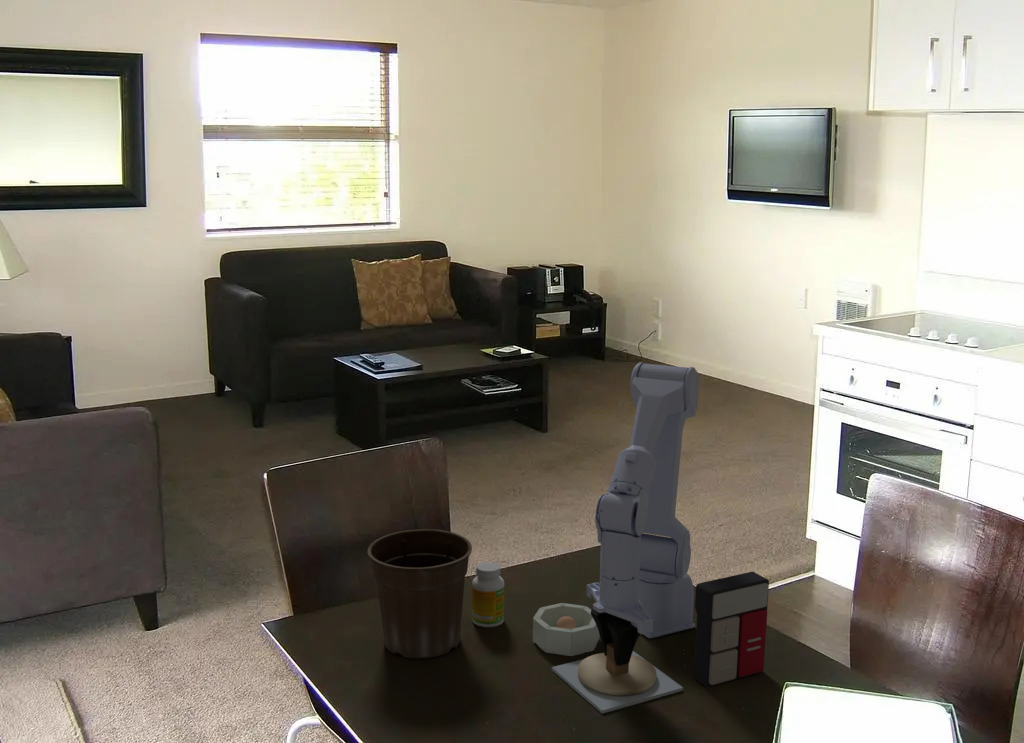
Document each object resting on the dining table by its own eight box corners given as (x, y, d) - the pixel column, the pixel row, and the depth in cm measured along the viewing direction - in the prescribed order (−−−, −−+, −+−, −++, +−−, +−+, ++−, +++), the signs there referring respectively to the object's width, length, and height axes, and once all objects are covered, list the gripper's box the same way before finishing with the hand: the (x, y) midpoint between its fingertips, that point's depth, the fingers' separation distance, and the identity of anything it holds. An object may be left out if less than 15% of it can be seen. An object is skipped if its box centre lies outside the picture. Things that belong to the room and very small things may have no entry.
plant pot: (384, 674, 156) (382, 573, 153) (359, 629, 171) (357, 536, 167) (486, 656, 162) (486, 558, 158) (453, 614, 176) (453, 523, 173)
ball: (569, 629, 169) (570, 611, 168) (579, 637, 166) (580, 619, 166) (552, 633, 168) (552, 615, 167) (562, 641, 165) (563, 623, 164)
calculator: (708, 690, 152) (713, 594, 149) (690, 677, 156) (695, 583, 153) (767, 673, 157) (773, 580, 154) (748, 661, 161) (753, 570, 158)
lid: (627, 651, 162) (628, 622, 161) (672, 684, 152) (673, 654, 151) (563, 666, 157) (564, 637, 156) (605, 702, 147) (606, 671, 146)
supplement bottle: (500, 629, 171) (500, 574, 169) (468, 626, 172) (468, 571, 170) (507, 615, 176) (507, 561, 174) (476, 612, 177) (476, 558, 175)
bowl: (576, 621, 174) (576, 599, 173) (609, 646, 165) (610, 623, 164) (523, 634, 169) (524, 611, 168) (554, 660, 161) (555, 636, 160)
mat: (628, 650, 164) (628, 647, 164) (682, 690, 152) (683, 687, 152) (551, 670, 157) (551, 667, 157) (602, 713, 145) (602, 710, 145)
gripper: (570, 560, 156) (568, 644, 158) (624, 596, 143) (621, 687, 146) (609, 552, 159) (607, 634, 162) (666, 587, 146) (662, 676, 149)
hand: (616, 659), depth 154 cm, fingers closed on lid, 2 cm apart
